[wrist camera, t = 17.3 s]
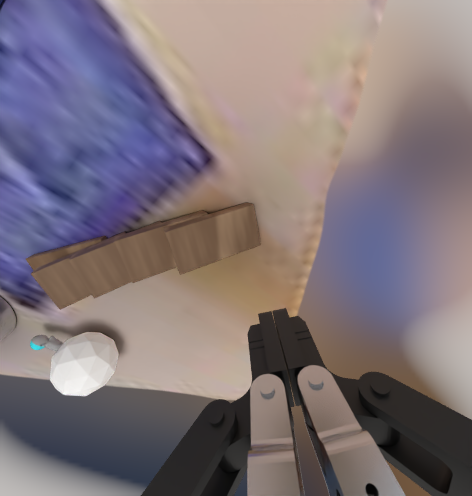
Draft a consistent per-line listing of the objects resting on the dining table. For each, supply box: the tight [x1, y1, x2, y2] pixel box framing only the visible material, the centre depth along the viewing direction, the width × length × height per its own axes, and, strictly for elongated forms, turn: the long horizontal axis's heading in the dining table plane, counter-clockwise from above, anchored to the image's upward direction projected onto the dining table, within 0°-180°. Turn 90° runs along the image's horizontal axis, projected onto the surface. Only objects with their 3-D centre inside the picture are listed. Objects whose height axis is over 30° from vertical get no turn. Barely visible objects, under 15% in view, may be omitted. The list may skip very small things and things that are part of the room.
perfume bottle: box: [30, 332, 119, 396], centre depth 32 cm, size 8×8×12 cm
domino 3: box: [69, 221, 161, 298], centre depth 27 cm, size 2×5×10 cm
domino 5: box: [164, 203, 261, 275], centre depth 26 cm, size 2×5×10 cm
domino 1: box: [26, 236, 107, 270], centre depth 30 cm, size 2×5×10 cm
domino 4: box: [114, 210, 208, 283], centre depth 27 cm, size 2×5×10 cm
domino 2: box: [31, 232, 126, 309], centre depth 28 cm, size 2×5×10 cm
